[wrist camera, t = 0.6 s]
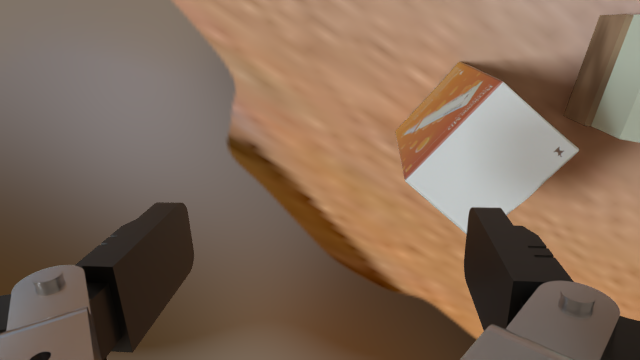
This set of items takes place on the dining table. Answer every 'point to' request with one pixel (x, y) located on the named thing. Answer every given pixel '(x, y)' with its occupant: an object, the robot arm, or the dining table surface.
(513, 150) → the small box
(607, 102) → the sage slab
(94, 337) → the robot arm
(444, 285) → the dining table surface
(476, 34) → the dining table surface
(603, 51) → the walnut slab
